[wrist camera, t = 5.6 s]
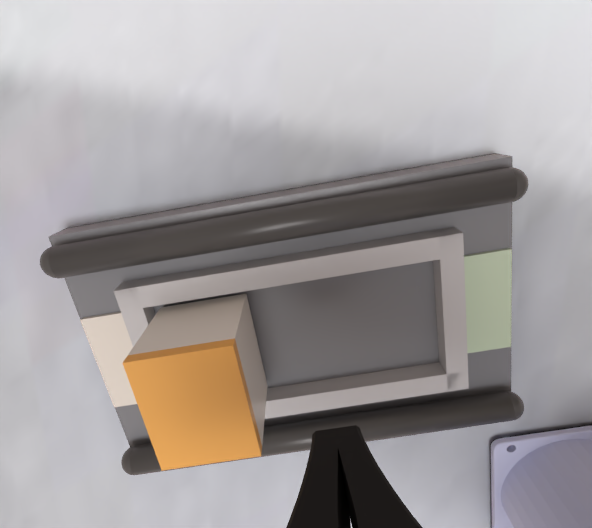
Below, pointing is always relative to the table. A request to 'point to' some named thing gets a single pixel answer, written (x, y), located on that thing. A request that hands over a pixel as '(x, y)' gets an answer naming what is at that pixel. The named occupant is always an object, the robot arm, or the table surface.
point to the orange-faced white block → (200, 383)
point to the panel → (324, 298)
